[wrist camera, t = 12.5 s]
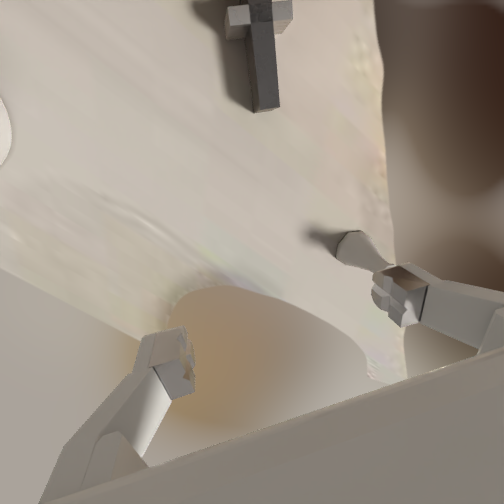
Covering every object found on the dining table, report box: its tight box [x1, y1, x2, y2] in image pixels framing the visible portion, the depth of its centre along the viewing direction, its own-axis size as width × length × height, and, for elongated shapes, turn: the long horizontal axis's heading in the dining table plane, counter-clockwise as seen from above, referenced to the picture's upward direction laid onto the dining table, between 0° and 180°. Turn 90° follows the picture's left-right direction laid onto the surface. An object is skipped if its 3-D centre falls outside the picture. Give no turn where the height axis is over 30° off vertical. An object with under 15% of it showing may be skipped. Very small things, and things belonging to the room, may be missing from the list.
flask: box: [336, 231, 396, 273], centre depth 41 cm, size 7×7×10 cm
